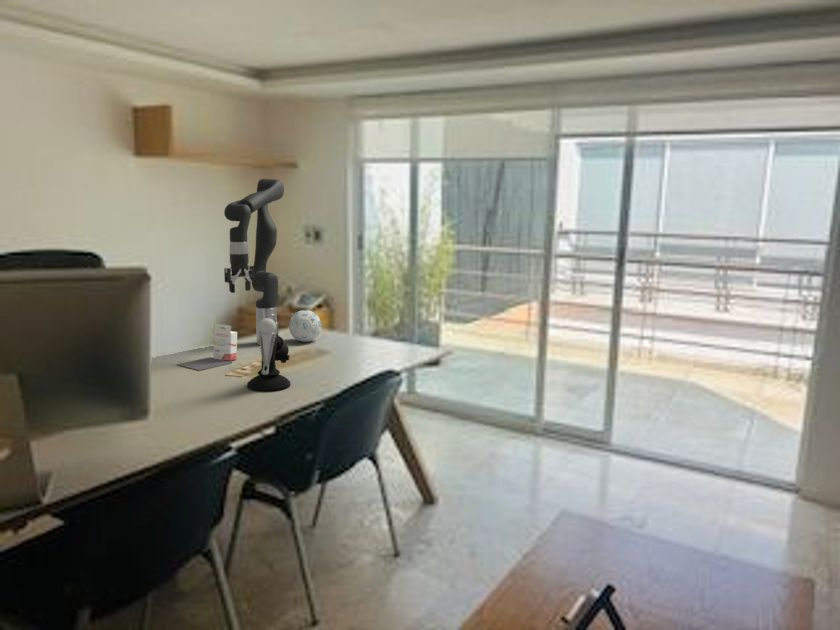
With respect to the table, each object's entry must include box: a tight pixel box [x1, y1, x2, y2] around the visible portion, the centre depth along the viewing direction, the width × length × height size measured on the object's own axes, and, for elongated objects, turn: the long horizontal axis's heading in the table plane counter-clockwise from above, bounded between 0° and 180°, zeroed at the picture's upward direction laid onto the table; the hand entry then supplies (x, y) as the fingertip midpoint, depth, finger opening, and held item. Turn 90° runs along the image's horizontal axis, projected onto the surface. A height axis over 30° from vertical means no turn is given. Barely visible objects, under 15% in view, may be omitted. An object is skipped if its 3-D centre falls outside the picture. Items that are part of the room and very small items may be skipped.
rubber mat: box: [176, 356, 233, 372], centre depth 266 cm, size 16×14×1 cm
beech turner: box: [225, 360, 262, 378], centre depth 259 cm, size 20×7×1 cm, turn 165°
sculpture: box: [246, 318, 291, 393], centre depth 240 cm, size 15×24×25 cm, turn 172°
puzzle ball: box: [288, 309, 322, 343], centre depth 311 cm, size 15×15×15 cm
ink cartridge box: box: [212, 323, 238, 362], centre depth 273 cm, size 9×5×15 cm, turn 71°
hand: (240, 291), depth 277 cm, fingers open, 7 cm apart
